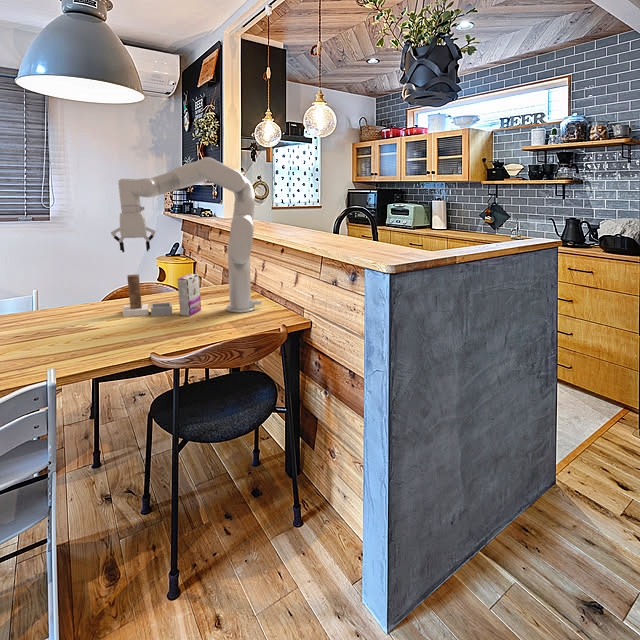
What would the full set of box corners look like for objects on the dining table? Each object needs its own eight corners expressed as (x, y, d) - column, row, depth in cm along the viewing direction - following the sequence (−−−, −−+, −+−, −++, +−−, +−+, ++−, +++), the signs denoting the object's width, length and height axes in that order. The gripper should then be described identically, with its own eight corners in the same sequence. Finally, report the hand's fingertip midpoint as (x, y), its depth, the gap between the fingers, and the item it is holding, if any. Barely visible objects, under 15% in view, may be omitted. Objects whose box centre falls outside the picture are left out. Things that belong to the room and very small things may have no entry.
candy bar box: (191, 309, 211) (189, 273, 206) (201, 310, 210) (199, 274, 205) (179, 315, 200) (176, 278, 196) (190, 316, 199) (187, 278, 195)
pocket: (171, 309, 209) (171, 302, 208) (172, 314, 201) (171, 307, 200) (151, 311, 206) (150, 303, 206) (151, 316, 199) (150, 308, 198)
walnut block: (141, 305, 205) (138, 274, 202) (141, 308, 201) (138, 276, 198) (130, 306, 204) (127, 274, 200) (130, 309, 200) (127, 276, 196)
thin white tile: (148, 309, 209) (148, 304, 209) (148, 315, 200) (147, 309, 200) (124, 310, 206) (123, 305, 206) (123, 316, 197) (122, 311, 196)
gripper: (153, 209, 199) (156, 249, 203) (108, 209, 193) (113, 251, 198) (153, 210, 192) (157, 251, 197) (107, 210, 186) (112, 253, 191)
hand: (135, 251), depth 197 cm, fingers open, 9 cm apart
